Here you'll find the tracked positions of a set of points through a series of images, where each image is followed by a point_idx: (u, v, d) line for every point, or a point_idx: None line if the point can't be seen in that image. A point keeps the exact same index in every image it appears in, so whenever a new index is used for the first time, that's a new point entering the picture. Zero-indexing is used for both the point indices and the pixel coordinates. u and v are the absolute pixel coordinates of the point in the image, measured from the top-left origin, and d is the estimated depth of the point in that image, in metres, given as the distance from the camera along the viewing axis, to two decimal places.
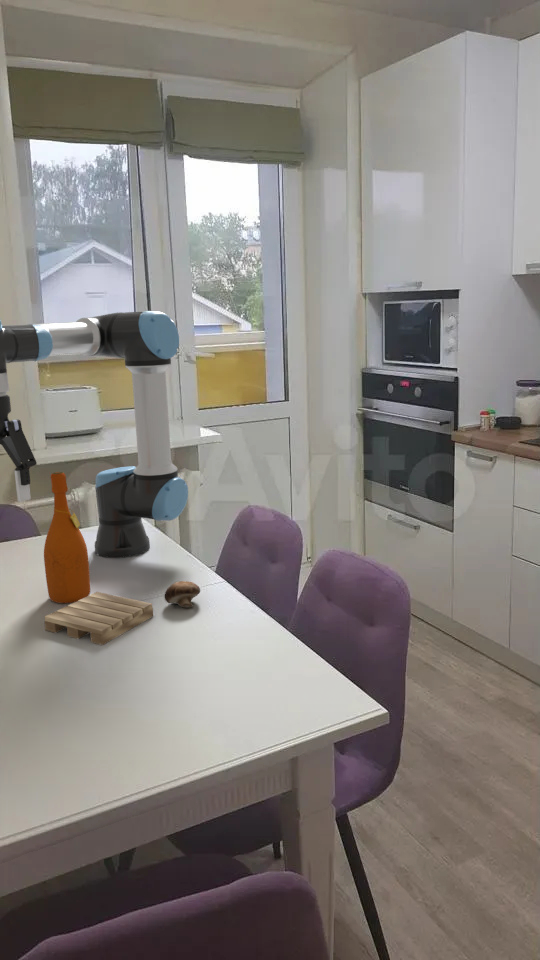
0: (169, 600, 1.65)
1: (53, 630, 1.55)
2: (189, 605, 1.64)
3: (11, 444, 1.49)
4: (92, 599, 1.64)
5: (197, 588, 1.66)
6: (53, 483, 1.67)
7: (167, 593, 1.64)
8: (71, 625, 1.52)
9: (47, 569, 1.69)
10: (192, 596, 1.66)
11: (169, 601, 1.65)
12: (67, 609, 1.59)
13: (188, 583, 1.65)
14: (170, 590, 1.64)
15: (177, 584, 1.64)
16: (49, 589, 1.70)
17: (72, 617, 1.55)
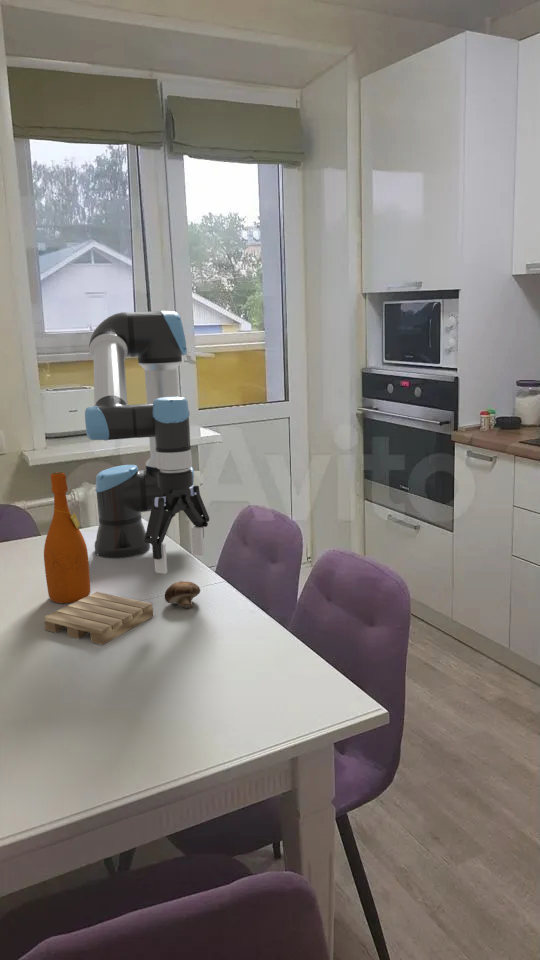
0: (169, 600, 1.65)
1: (53, 630, 1.55)
2: (189, 605, 1.64)
3: (162, 518, 1.58)
4: (92, 599, 1.64)
5: (197, 588, 1.66)
6: (53, 483, 1.67)
7: (167, 593, 1.64)
8: (71, 625, 1.52)
9: (47, 569, 1.69)
10: (192, 596, 1.66)
11: (169, 601, 1.65)
12: (67, 609, 1.59)
13: (188, 584, 1.65)
14: (170, 590, 1.63)
15: (177, 584, 1.64)
16: (49, 589, 1.70)
17: (72, 617, 1.55)
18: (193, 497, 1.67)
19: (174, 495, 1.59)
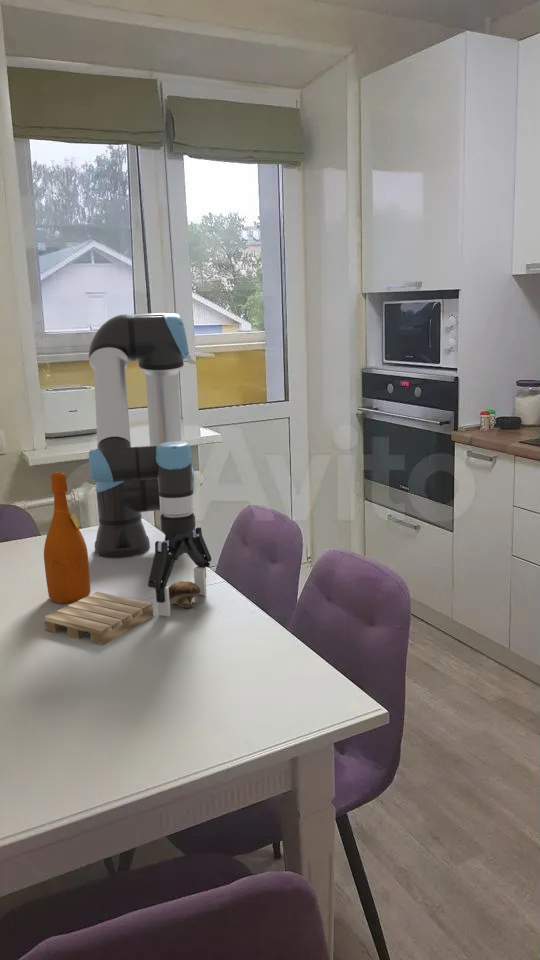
0: (169, 600, 1.65)
1: (53, 630, 1.55)
2: (189, 605, 1.64)
3: (166, 562, 1.61)
4: (92, 599, 1.64)
5: (197, 588, 1.66)
6: (53, 483, 1.67)
7: None
8: (71, 625, 1.52)
9: (47, 569, 1.69)
10: (192, 596, 1.66)
11: None
12: (67, 609, 1.59)
13: (188, 584, 1.65)
14: (170, 590, 1.63)
15: (177, 584, 1.64)
16: (49, 589, 1.70)
17: (72, 617, 1.55)
18: (196, 538, 1.69)
19: (177, 539, 1.61)
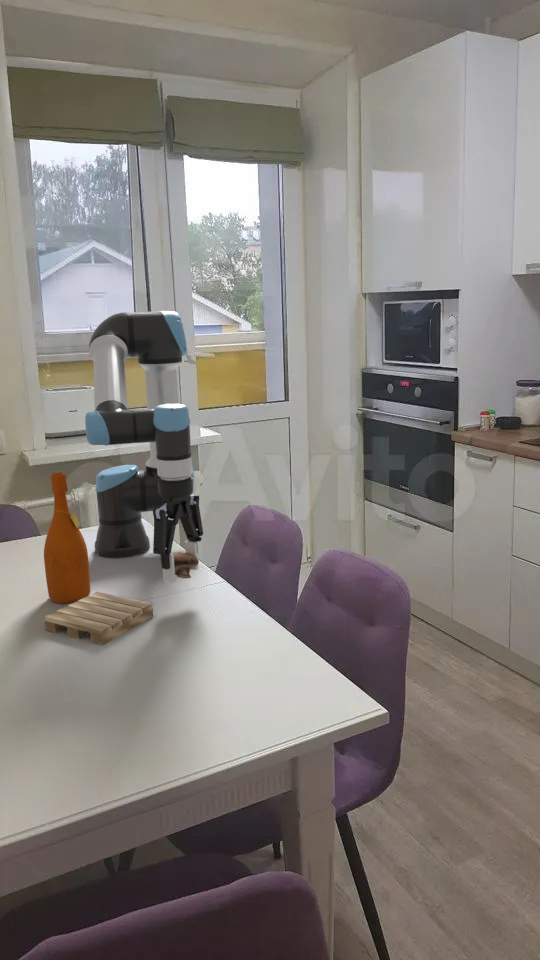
0: None
1: (53, 630, 1.55)
2: (187, 576, 1.63)
3: (167, 528, 1.60)
4: (92, 599, 1.64)
5: (195, 559, 1.65)
6: (53, 483, 1.67)
7: None
8: (71, 625, 1.52)
9: (47, 569, 1.69)
10: (190, 567, 1.65)
11: None
12: (67, 609, 1.59)
13: (186, 554, 1.64)
14: None
15: (175, 555, 1.63)
16: (49, 589, 1.70)
17: (72, 617, 1.55)
18: (192, 507, 1.67)
19: (174, 501, 1.59)
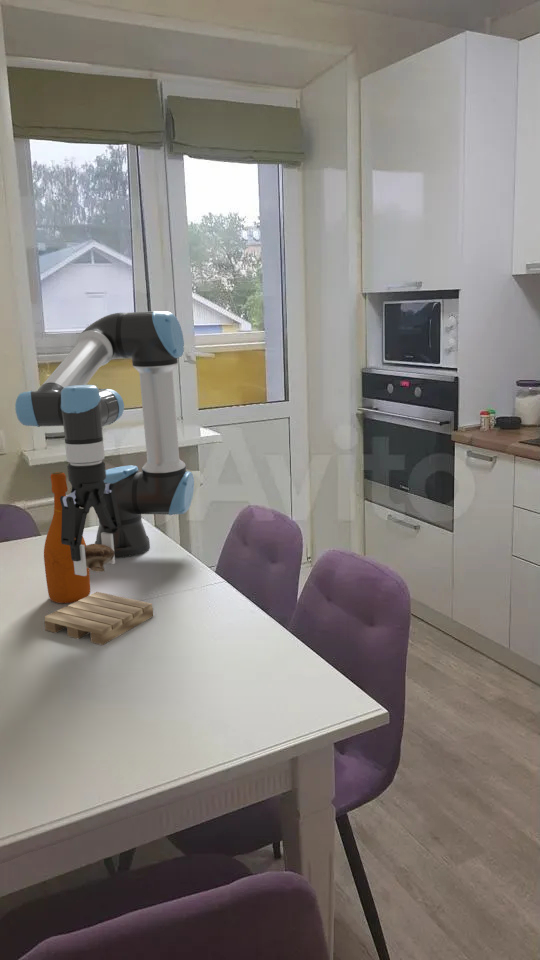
0: None
1: (53, 630, 1.55)
2: (101, 569, 1.53)
3: (77, 517, 1.50)
4: (92, 599, 1.64)
5: (110, 551, 1.55)
6: (53, 483, 1.67)
7: None
8: (71, 625, 1.52)
9: (47, 569, 1.69)
10: (105, 560, 1.55)
11: None
12: (67, 609, 1.59)
13: (100, 546, 1.54)
14: None
15: (88, 546, 1.53)
16: (49, 589, 1.70)
17: (72, 617, 1.55)
18: (107, 496, 1.57)
19: (84, 488, 1.50)
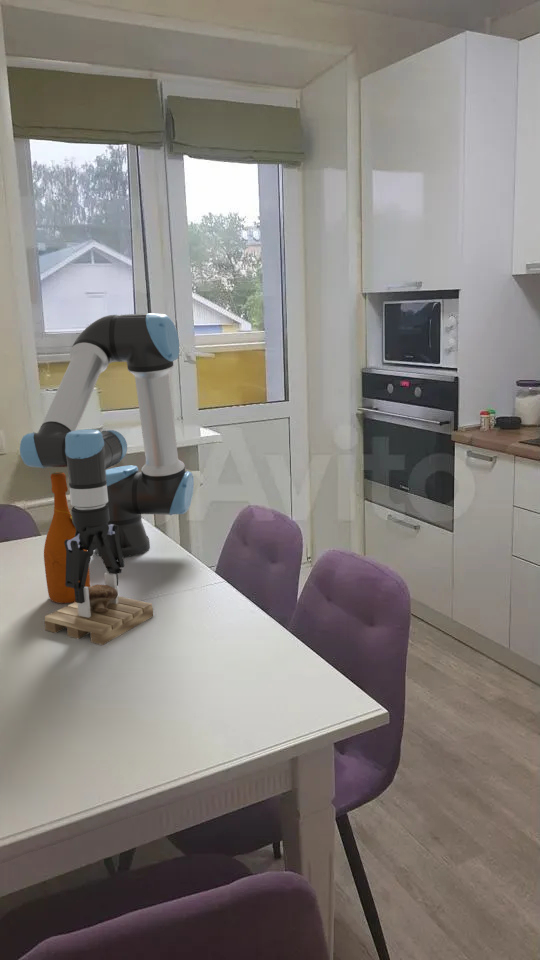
0: None
1: (53, 630, 1.55)
2: (104, 610, 1.55)
3: (81, 560, 1.52)
4: None
5: (113, 592, 1.56)
6: (53, 483, 1.67)
7: None
8: (71, 625, 1.52)
9: (47, 569, 1.69)
10: (108, 600, 1.57)
11: None
12: (67, 609, 1.59)
13: (103, 587, 1.56)
14: None
15: (91, 588, 1.55)
16: (49, 589, 1.70)
17: (72, 617, 1.55)
18: (111, 537, 1.59)
19: (88, 531, 1.52)
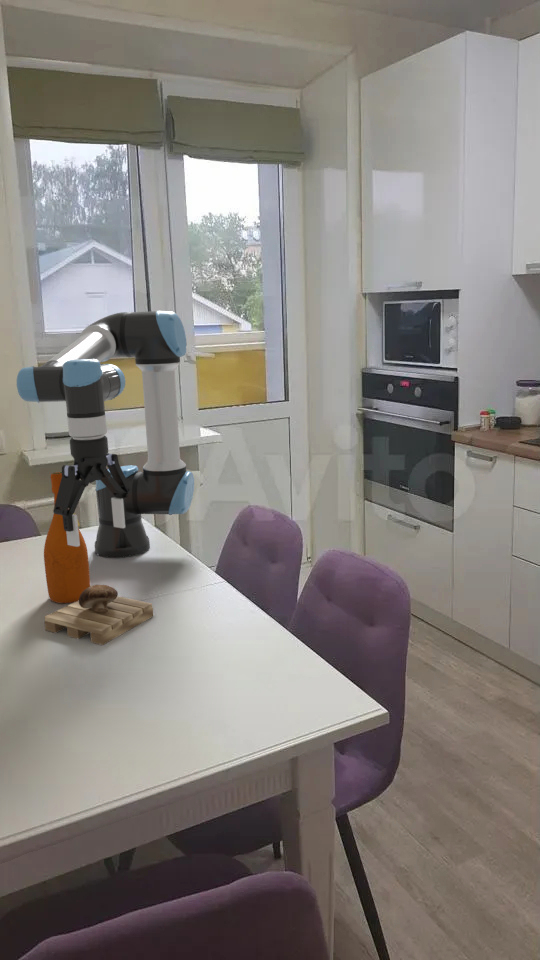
0: (83, 605, 1.55)
1: (53, 630, 1.55)
2: (104, 610, 1.55)
3: (74, 488, 1.49)
4: None
5: (113, 592, 1.56)
6: (53, 483, 1.67)
7: (81, 597, 1.55)
8: (71, 625, 1.52)
9: (47, 569, 1.69)
10: (108, 600, 1.57)
11: (83, 606, 1.56)
12: (67, 609, 1.59)
13: (103, 587, 1.56)
14: (83, 594, 1.54)
15: (91, 588, 1.55)
16: (49, 589, 1.70)
17: (72, 617, 1.55)
18: (112, 466, 1.58)
19: (87, 464, 1.50)
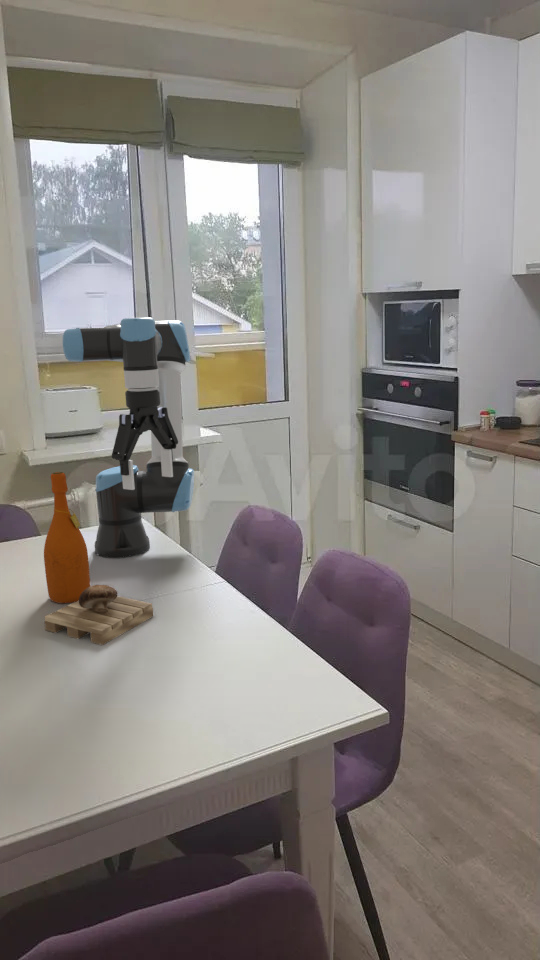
0: (83, 605, 1.55)
1: (53, 630, 1.55)
2: (104, 610, 1.55)
3: (130, 436, 1.62)
4: None
5: (113, 592, 1.56)
6: (53, 483, 1.67)
7: (81, 597, 1.55)
8: (71, 625, 1.52)
9: (47, 569, 1.69)
10: (108, 600, 1.57)
11: (83, 606, 1.56)
12: (67, 609, 1.59)
13: (103, 587, 1.56)
14: (83, 594, 1.54)
15: (91, 588, 1.55)
16: (49, 589, 1.70)
17: (72, 617, 1.55)
18: (162, 419, 1.71)
19: (141, 414, 1.63)
